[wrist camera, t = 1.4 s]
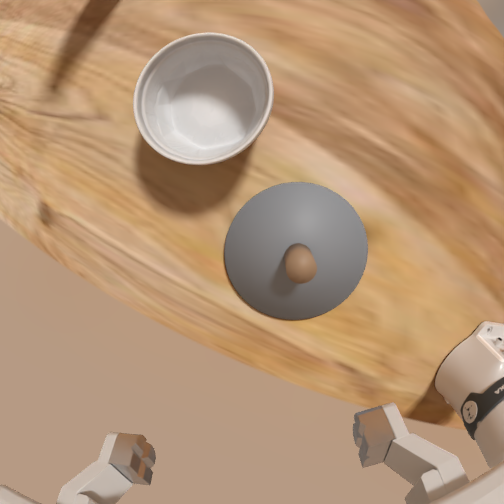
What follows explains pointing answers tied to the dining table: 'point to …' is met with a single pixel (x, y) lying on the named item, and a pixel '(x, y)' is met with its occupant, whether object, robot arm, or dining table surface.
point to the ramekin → (203, 98)
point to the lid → (296, 250)
